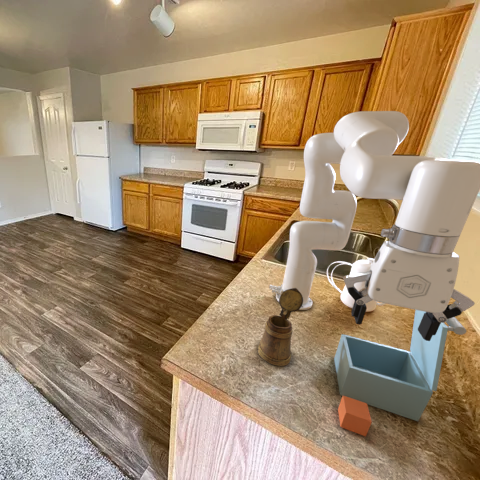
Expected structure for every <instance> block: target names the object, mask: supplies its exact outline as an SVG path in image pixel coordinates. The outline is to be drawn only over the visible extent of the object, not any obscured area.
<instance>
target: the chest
mask: <svg viewBox="0 0 480 480" xmlns="http://www.w3.org/2000/svg"><path fill="white" fill-rule="evenodd" d="M333 360H334V367H335V372H336V379H337V385H338V390H339V395H340V396H346V397H349V398H352V399H355V400H358V401H361V402H364V403H367V405H368V406H371V407H374V408H377V409H380V410H383V411H386V412H388V413H389V412H390V413H392V414H395V415H398V416H401V417H403V418H407V419H409V420H413V421H415V422H419V421H420V419H421V417H422V415H423V413H424V412H425V410H426V408H427V405H428V404H429V401H430V400H431V398H432V396H433V394H434V391H432V390H431V388H430V386H429V385H428V383H427V381H426V379H425V377H424V375H423V373H422V371H421V370H420V368H419V366H418V364H417V362H416V360H415V358H414V356H413V355H412V353H411V351H410V350H406V349H402V348H399V347H395V346H390V345H386V344H383V343H379V342H375V341H371V340H367V339H364V338H359V337H356V336H351V335H348V334H344V333H341V335H340V339H339V341H338V346H337V348H336V352H335V355H334V358H333Z"/></svg>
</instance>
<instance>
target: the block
mask: <svg viewBox="0 0 480 480" xmlns="http://www.w3.org/2000/svg"><path fill="white" fill-rule="evenodd" d="M341 396H342V395H341ZM337 412H338V419H339V426H340V428H342V429H345V430H347V431H349V432H352V433H355V434H357V435H359V436H363V437H365V438H366V437H367V434H368V432H369V430H370V428H371V426H372V423H373V421H372V417H371V414H370V410H369V405H368V404H367V403H364V402H361V401H358V400H355V399H352V398H349V397H346V396H342V397H341V399H340V402H339V404H338V408H337Z"/></svg>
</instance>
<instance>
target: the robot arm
mask: <svg viewBox="0 0 480 480" xmlns="http://www.w3.org/2000/svg"><path fill="white" fill-rule="evenodd" d="M409 129H410V122H409V119H408V117H407V116H406V114H404V113H403V112H401V111H398V110H397V111H396V110H369V111H368V110H363V111H355V112H351V113H348V114H346V115H344V116H342V117H341V118H340V119H339V120H338V121H337V122H336V124H335V125H334V127H333V132H322V133H317V134H314V135H312V136H310V137H309V138H308V139H307V141H306V143H305V145H304V149H303V165H304V173H305V174H304V182H303V187H302V192H301V197H300V202H299V213H300V215H301V216H302V217H305V218H309V219H319V220H320V219H321V220H332V222H330V221H316V220H300V221H296V222H294V223H292V225H291V226H290V229H289V247H288V253H287V254H288V255H287V260H286V265H285V270H284V276H283V280H282V284H281V285H273V284H269V285H268V290H270V291H271V293H272V294H275V299H276V300H277V302H279V299H280V296H281V294H282V292H283V291H285V290H288V289H292V288H297V289H298V290H299V292H300V293H301V294H302V297H303V304H302V306H301V308H300V309H299V310H298V311H306V310H309V309H311V308H312V307H313V299H312V298H310V295H311V291H312V286H313V283H314V279H315V274H316V270H317V266H318V259H317V257H316V255H315V253H314V252H313V250H322V251H341V250H343V249H344V248H345V247H346V245H347V244H348V241H349V238H350V235H351V232H352V227H353V224H354V220H355V216H356V213H357V206H358V201H357V198H356V197H358V198H363V199H374V200H375V199H376V200H395V201H396V200H399V201H402V202H401V204H400V207H399V211H398V213H397V217H396V220H395V222H394V224H393V225H392V227H391V228H382V229H381V232H380V236H381V237H383V238H387V239H388V240H385V241H383V243H382V245H381V246H380V248H379V249H378V251H377V253H376V255H375V257H374V258H373V259H374V261H373V263H372V265H371V267H370V270H369V271H367V272H362V273H356V274H351V275H349V274H346V275H344V276H343V277H342V279H343V281H344V286H345V285H346V287H347V290H348V293H349V294H350V295H351V296H352V298H353V299H354V300H355V302H354V305H353V308H351V313H350V314H351V317H353V318H354V320H355V324H357V325H362V324H363V321H364V317H365V314H366V313H367V312H366V309H367V307H366V303H368V302H370V301H372V300H375V301H377V303H385V304H386V305H391V306H395V307H400V308H405V309H410V310H414V311H415V310H419V311H425V312H426V313H424V315H423V318H422V320H421V322H420V325H419V327H418V331H419V333H420V334H421V336H422V337H423V339H424V340H426V341H430V340H431V338H432V336H433V335H436V333H437V330H438V328H439V326H440V324H441V323H446V321H447V319H449V318H453V317H455V318H457V317H459V316H461V315H462V313H463V312H466V311H467V310H469V309H470V308H472V307H473V306H475V304H476V303H475V301H473V300H472V299H471V298H470V297H468V296H467V295H465V294H463V293H462V292H460V291H459V290H457V289H455V285H456V282H457V277H458V271H459V265H460V255H459V254H458V253H456V252H454V251H455V249H456V247H457V244H458V242H459V239H460V237H461V235H462V232H463V230H464V227H465V226H466V223H467V221H468V218H469V216H470V213H471V211H472V208H473V206H474V204H475V202H476V199H477V197H478V195H479V193H480V162H479V161H474V160H465V159H448V158H445V157H441V156H432V155H431V156H429V155H393V154H394V153H395V152H396V150H397V148H398V146H399V145H400V144H401V143H402V142H403V141H404V140H405V139H406V136H407V134H408V132H409ZM331 164H339V175H340V179H341V181H342V183H343V184H344V185H345V187H346V189H347V190H344V189H343V190H339V189H334V188H335V182H336V177H337V175H336V174H337V173H336V172H335V169H334V168H333V165H331ZM363 281H365V288H363V289H361V290H360V291H358V290H357V289H356V288H355V287H354V284H355V283H358V282H363ZM451 299H453V300H454V301H453V302H452V303H450V301H451ZM449 303H450V304H449Z"/></svg>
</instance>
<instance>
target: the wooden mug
mask: <svg viewBox="0 0 480 480" xmlns="http://www.w3.org/2000/svg"><path fill="white" fill-rule="evenodd" d="M278 303H279V306H280V308H281V310H280V313H279V315H277V314H273V315H270V316H269V317H268V319H267V320H266V322H265V325H264V332H263V333H262V337H261V340H260V341H259V344H258V347H257V353H258V355H259V357H260V358H261V359H262V360H264V361H265V362H266V363H269V364H271V365H273V366H278V367H284V366H288V365H289V364H290V362H291V360H292V347H291V346H292V335H293V324H292V322H291V321H290V320H289V319H290V316H291V314H292V313H294V312H297V311H300V310H299V309H300V308H301V306H302V304H303V297H302V294H301V293H300V292H299V290H298V289H297V288H292V289H288V290H285V291H283V292H282V294H281V296H280V299H279V301H278Z"/></svg>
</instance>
